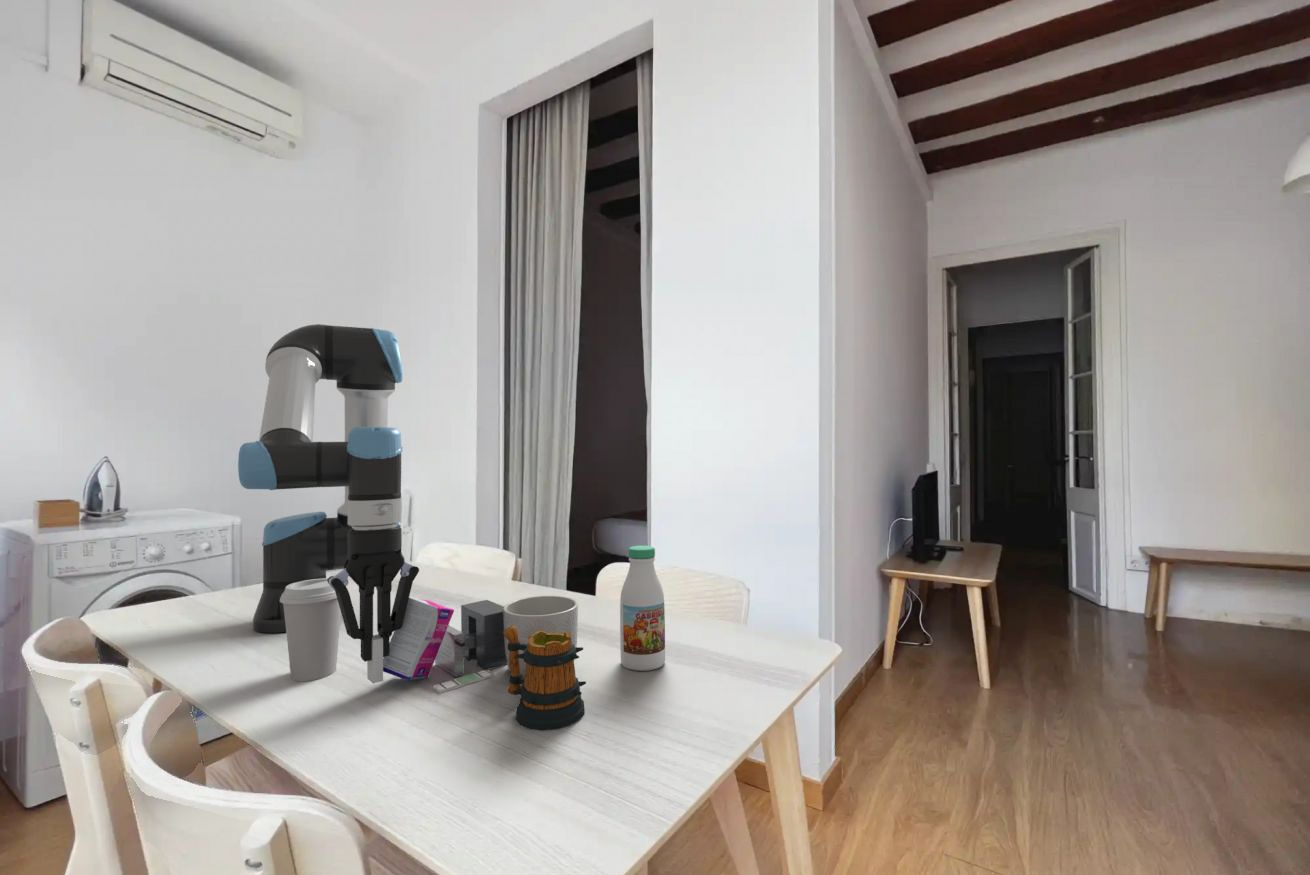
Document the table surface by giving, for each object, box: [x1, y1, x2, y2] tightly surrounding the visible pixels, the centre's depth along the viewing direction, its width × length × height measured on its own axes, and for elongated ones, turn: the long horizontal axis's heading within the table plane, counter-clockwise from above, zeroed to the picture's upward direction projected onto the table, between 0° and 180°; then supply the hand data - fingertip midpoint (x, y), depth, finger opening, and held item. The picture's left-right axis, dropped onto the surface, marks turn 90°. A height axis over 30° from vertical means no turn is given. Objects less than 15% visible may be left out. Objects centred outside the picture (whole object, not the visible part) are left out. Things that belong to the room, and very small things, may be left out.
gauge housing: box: [460, 599, 508, 671], centre depth 100 cm, size 9×5×9 cm, turn 43°
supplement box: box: [383, 597, 455, 681], centre depth 92 cm, size 6×6×12 cm
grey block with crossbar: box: [434, 624, 477, 677], centre depth 98 cm, size 10×12×7 cm
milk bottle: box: [619, 545, 666, 672], centre depth 97 cm, size 8×8×20 cm
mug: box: [503, 626, 587, 732], centre depth 80 cm, size 13×10×12 cm
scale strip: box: [432, 669, 495, 694], centre depth 90 cm, size 2×9×1 cm, turn 133°
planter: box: [503, 595, 579, 678], centre depth 95 cm, size 12×12×11 cm
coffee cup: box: [280, 577, 342, 682], centre depth 95 cm, size 10×10×15 cm
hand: (375, 679), depth 87 cm, fingers closed
